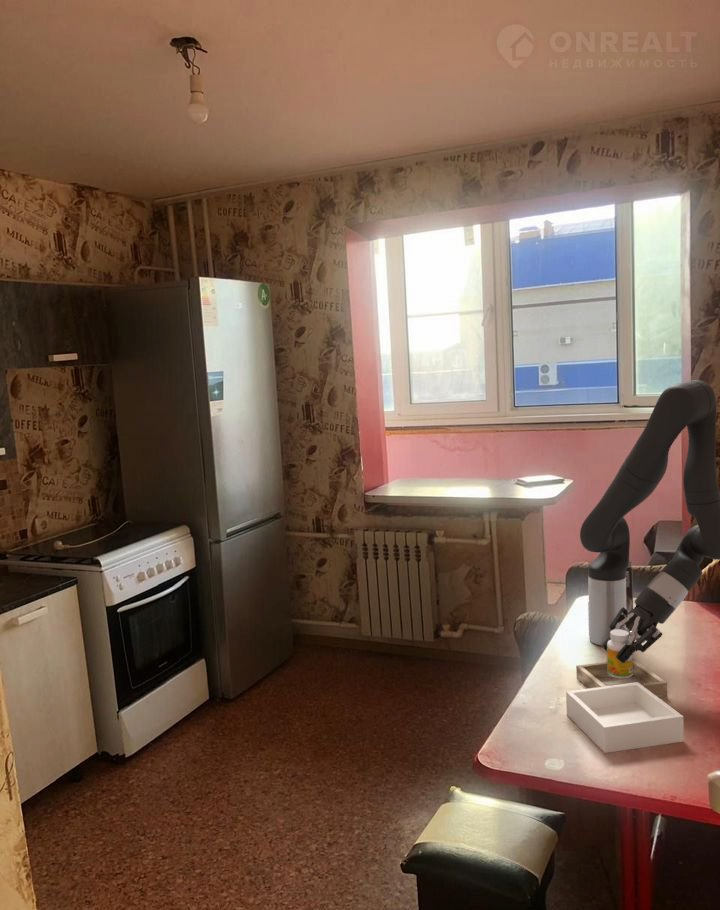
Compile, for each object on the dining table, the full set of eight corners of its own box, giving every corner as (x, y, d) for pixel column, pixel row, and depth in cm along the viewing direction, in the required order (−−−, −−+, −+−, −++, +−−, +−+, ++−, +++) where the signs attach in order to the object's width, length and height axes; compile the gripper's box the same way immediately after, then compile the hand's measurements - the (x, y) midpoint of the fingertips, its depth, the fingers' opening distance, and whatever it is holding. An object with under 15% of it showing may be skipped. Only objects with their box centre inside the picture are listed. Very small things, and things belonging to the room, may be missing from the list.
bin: (566, 714, 152) (566, 691, 152) (637, 704, 155) (637, 682, 154) (604, 752, 137) (604, 727, 136) (683, 741, 139) (683, 716, 139)
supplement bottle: (603, 670, 166) (602, 629, 165) (626, 668, 167) (625, 627, 166) (613, 680, 161) (613, 637, 160) (637, 678, 161) (636, 635, 160)
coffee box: (633, 616, 208) (632, 561, 206) (633, 624, 202) (633, 567, 200) (599, 614, 211) (598, 560, 209) (598, 622, 205) (597, 566, 203)
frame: (576, 678, 170) (576, 665, 169) (632, 670, 172) (632, 658, 171) (606, 704, 156) (606, 690, 155) (667, 696, 158) (667, 682, 158)
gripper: (633, 577, 170) (585, 633, 169) (669, 596, 156) (617, 657, 155) (654, 597, 171) (607, 652, 171) (692, 618, 157) (640, 678, 157)
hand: (612, 654), depth 163 cm, fingers closed on supplement bottle, 5 cm apart
